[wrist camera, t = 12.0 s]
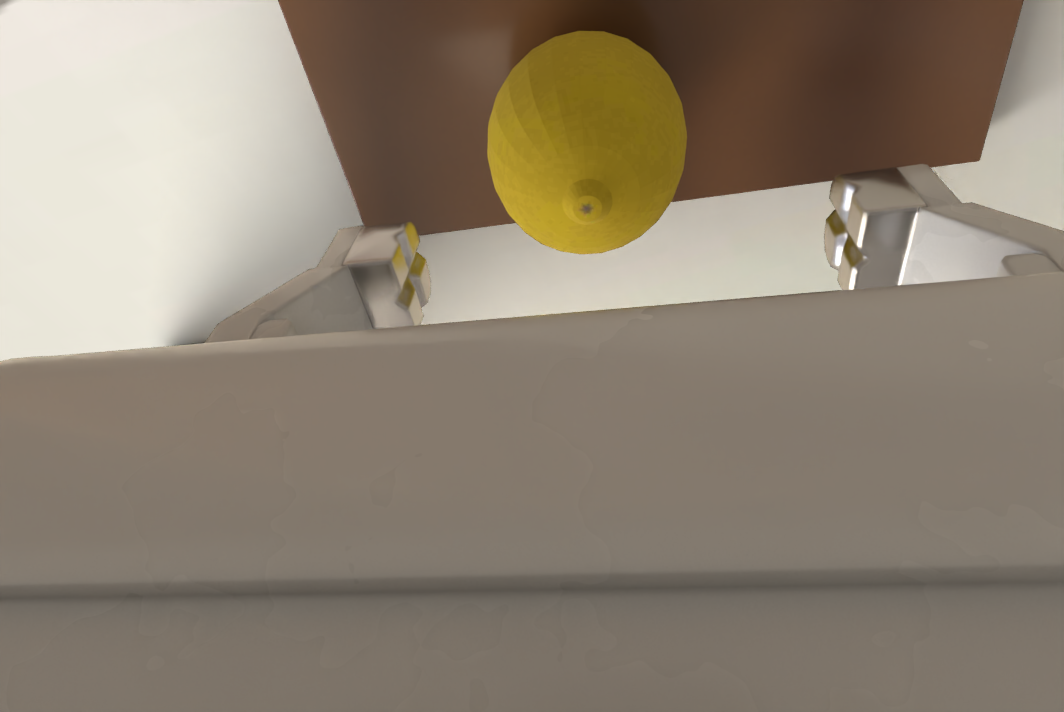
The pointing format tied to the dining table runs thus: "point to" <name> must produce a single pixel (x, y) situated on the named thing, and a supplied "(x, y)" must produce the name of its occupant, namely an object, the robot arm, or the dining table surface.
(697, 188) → the serving board
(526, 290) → the dining table surface
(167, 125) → the dining table surface
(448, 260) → the dining table surface
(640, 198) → the lemon
